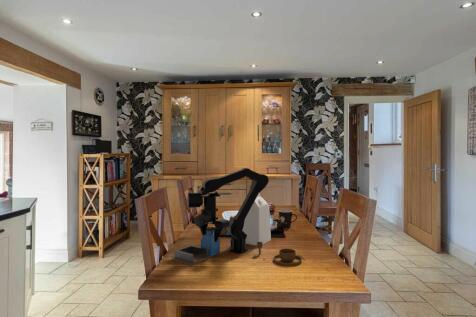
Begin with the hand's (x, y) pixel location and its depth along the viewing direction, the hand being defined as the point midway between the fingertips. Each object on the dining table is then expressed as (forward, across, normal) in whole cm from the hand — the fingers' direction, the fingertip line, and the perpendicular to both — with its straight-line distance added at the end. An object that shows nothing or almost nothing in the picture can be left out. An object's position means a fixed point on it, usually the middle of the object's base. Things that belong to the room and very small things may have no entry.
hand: (210, 240), depth 141 cm
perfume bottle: (+6, 0, 0) cm, 6 cm away
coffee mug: (+6, +5, +66) cm, 66 cm away
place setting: (+7, +30, +14) cm, 34 cm away
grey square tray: (+6, -2, -10) cm, 12 cm away
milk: (+6, +6, +29) cm, 30 cm away
